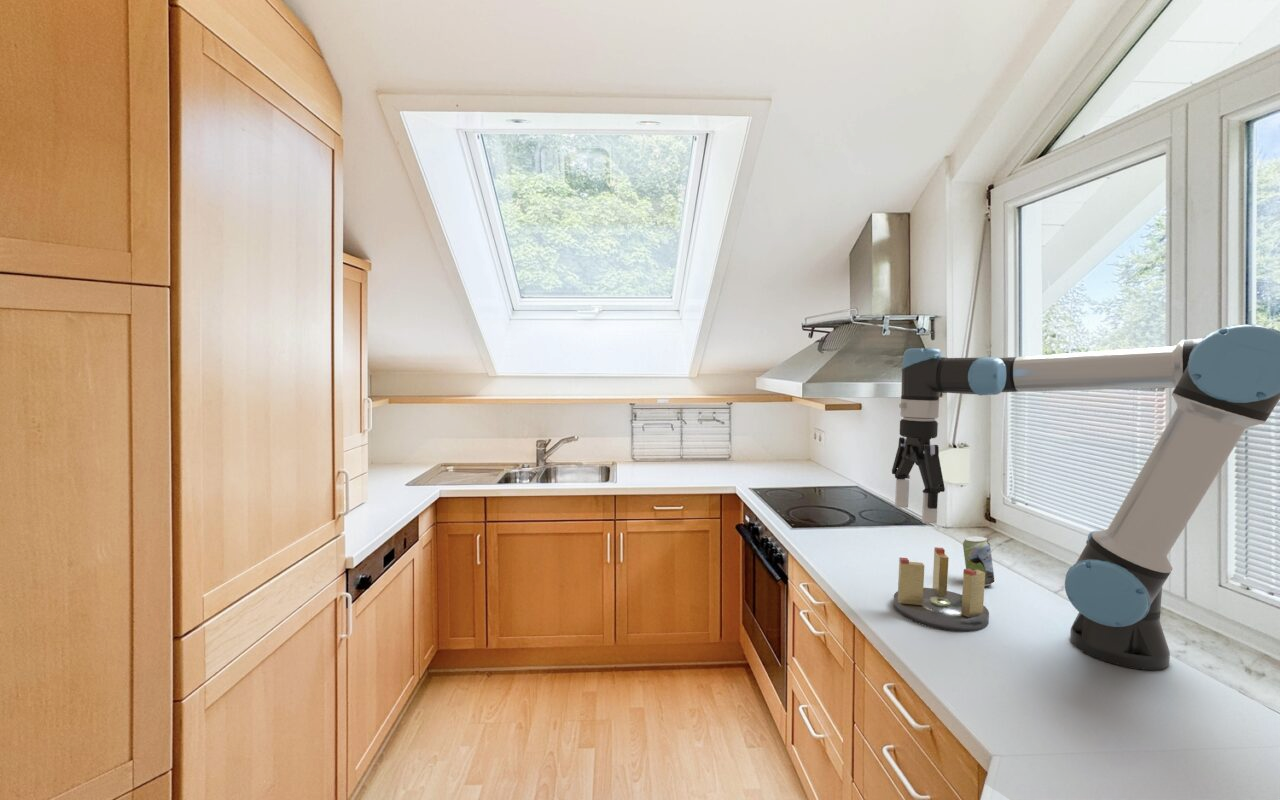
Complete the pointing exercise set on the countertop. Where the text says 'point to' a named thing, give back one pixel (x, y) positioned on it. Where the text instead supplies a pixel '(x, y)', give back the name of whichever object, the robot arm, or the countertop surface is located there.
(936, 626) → the tribrach plate
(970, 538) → the beverage can
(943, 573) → the knob
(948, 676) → the countertop surface
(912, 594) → the knob
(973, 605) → the knob
